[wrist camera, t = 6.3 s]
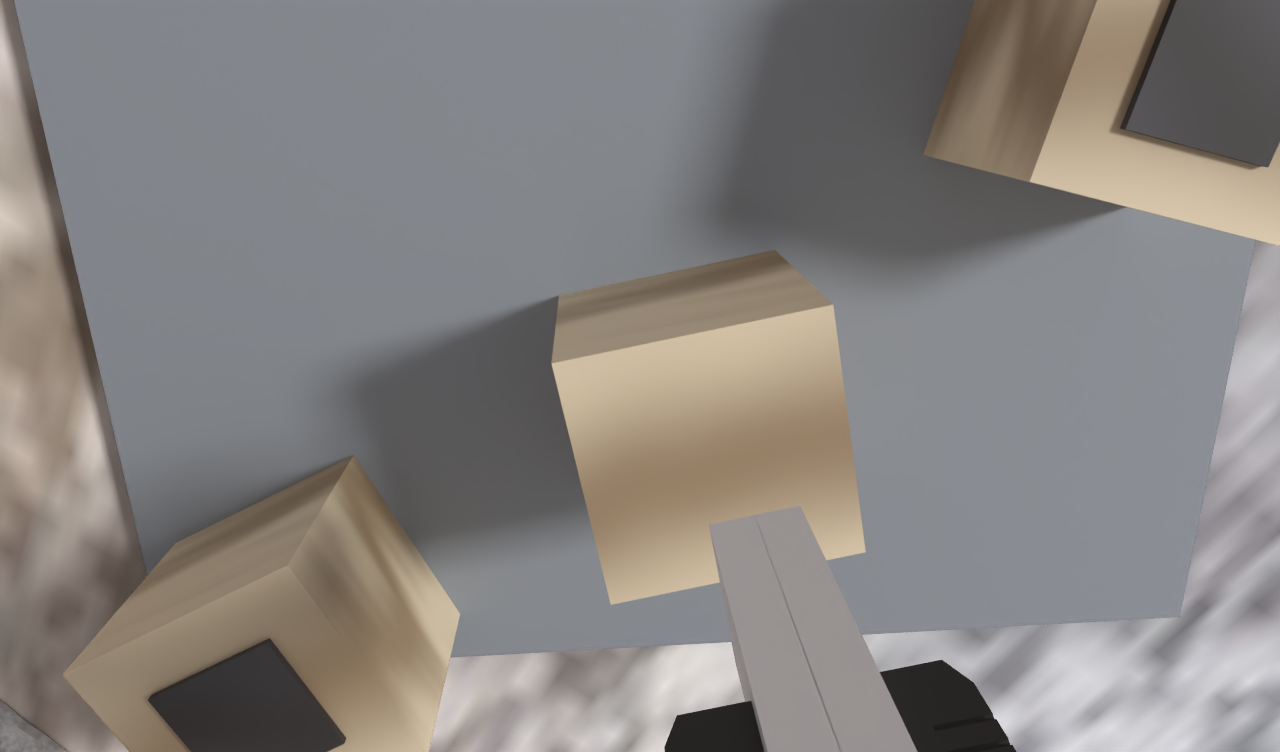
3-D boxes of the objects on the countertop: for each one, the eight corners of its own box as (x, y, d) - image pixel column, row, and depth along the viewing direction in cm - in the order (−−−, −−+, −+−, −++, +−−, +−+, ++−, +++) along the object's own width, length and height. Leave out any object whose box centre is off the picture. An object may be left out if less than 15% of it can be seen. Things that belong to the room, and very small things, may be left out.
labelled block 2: (1004, -90, 22) (1158, -149, 16) (1221, -26, 23) (1443, -59, 17) (923, 154, 24) (1034, 183, 18) (1126, 206, 24) (1297, 250, 19)
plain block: (559, 295, 24) (551, 363, 19) (775, 249, 24) (833, 304, 19) (604, 489, 26) (610, 604, 21) (804, 448, 26) (865, 552, 21)
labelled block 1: (175, 543, 26) (56, 680, 20) (353, 454, 25) (284, 570, 20) (291, 693, 28) (214, 858, 22) (460, 613, 27) (426, 762, 22)
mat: (18, -39, 22) (4, -42, 21) (1299, -62, 23) (1317, -65, 22) (178, 660, 28) (169, 673, 27) (1168, 606, 30) (1179, 616, 29)
